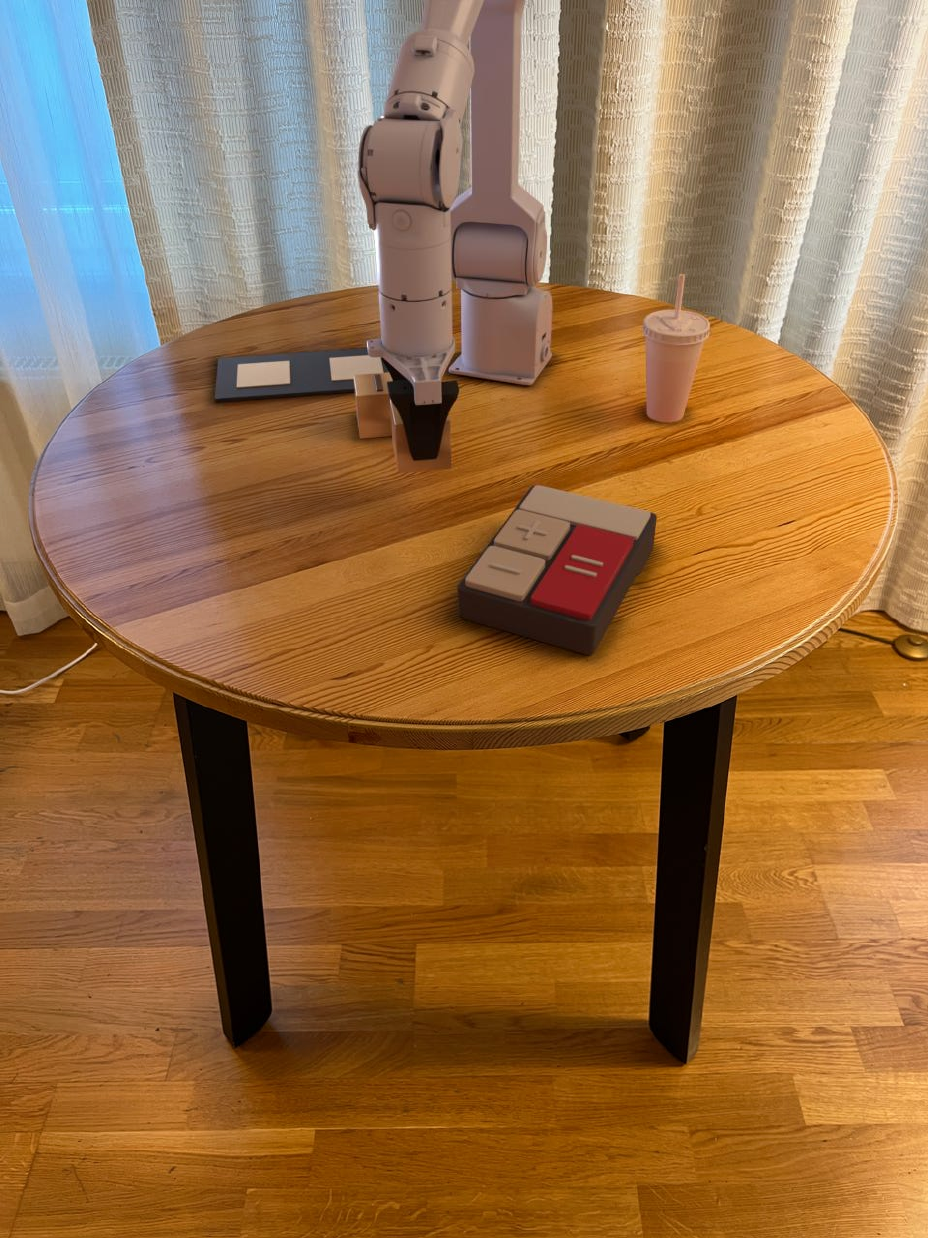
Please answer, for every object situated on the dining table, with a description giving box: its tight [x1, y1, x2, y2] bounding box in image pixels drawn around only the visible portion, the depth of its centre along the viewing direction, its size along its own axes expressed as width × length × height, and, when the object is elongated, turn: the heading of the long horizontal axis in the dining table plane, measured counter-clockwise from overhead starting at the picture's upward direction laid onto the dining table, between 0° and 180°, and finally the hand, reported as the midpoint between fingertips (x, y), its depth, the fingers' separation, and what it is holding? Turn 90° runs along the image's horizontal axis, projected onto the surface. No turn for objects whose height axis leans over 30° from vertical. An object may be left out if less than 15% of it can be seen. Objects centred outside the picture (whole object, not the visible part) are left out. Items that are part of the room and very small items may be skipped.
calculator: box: [456, 484, 658, 656], centre depth 80 cm, size 11×4×15 cm
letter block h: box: [390, 399, 452, 474], centre depth 87 cm, size 5×5×5 cm
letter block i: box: [354, 372, 393, 440], centre depth 100 cm, size 5×5×5 cm
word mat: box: [214, 347, 389, 403], centre depth 111 cm, size 20×10×1 cm, turn 98°
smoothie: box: [641, 273, 711, 424], centre depth 99 cm, size 6×6×14 cm
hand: (421, 442), depth 88 cm, fingers closed on letter block h, 4 cm apart
